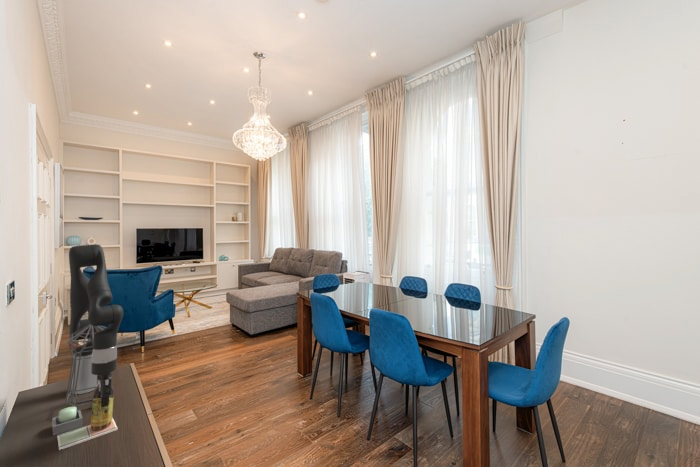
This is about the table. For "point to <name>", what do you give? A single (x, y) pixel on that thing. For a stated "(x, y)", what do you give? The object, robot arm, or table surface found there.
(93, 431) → the colouring card
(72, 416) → the button
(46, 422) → the table surface
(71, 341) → the geometric lantern
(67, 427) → the button housing
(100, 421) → the sauce bottle
